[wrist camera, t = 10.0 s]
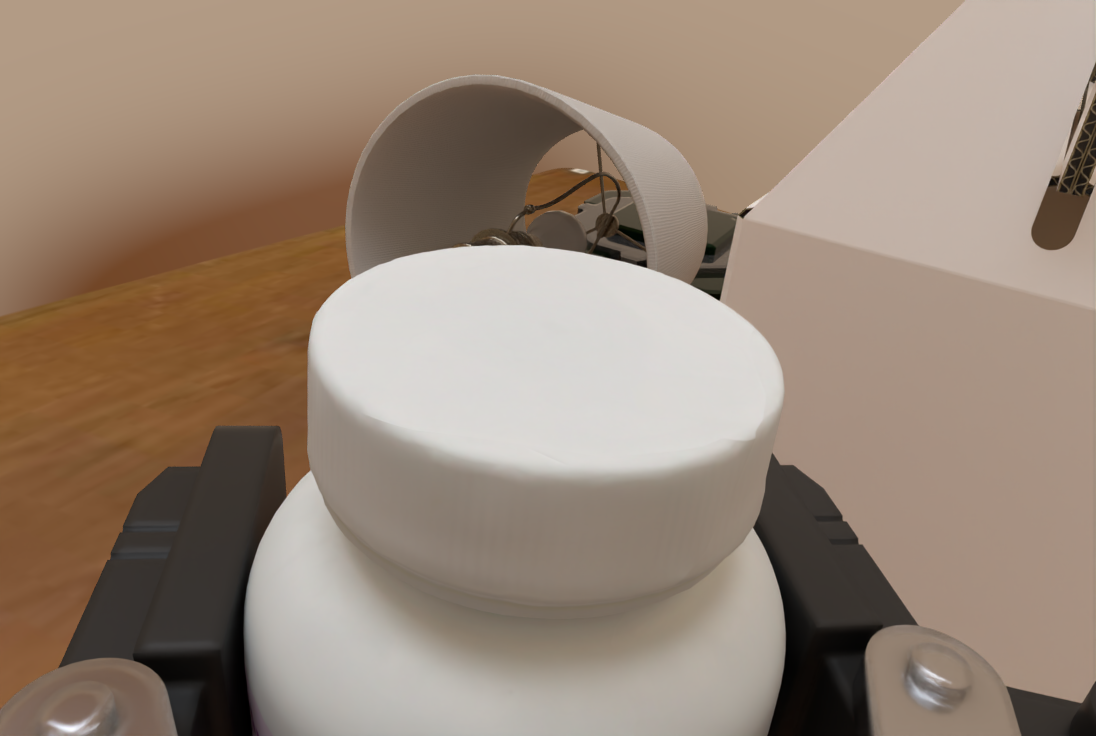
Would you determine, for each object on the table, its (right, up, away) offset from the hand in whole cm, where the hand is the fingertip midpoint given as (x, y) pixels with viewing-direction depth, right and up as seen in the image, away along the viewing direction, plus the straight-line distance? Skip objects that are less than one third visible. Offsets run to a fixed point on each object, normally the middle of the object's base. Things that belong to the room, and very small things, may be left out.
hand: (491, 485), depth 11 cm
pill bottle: (0, -7, +1) cm, 7 cm away
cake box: (+15, -8, +24) cm, 29 cm away
